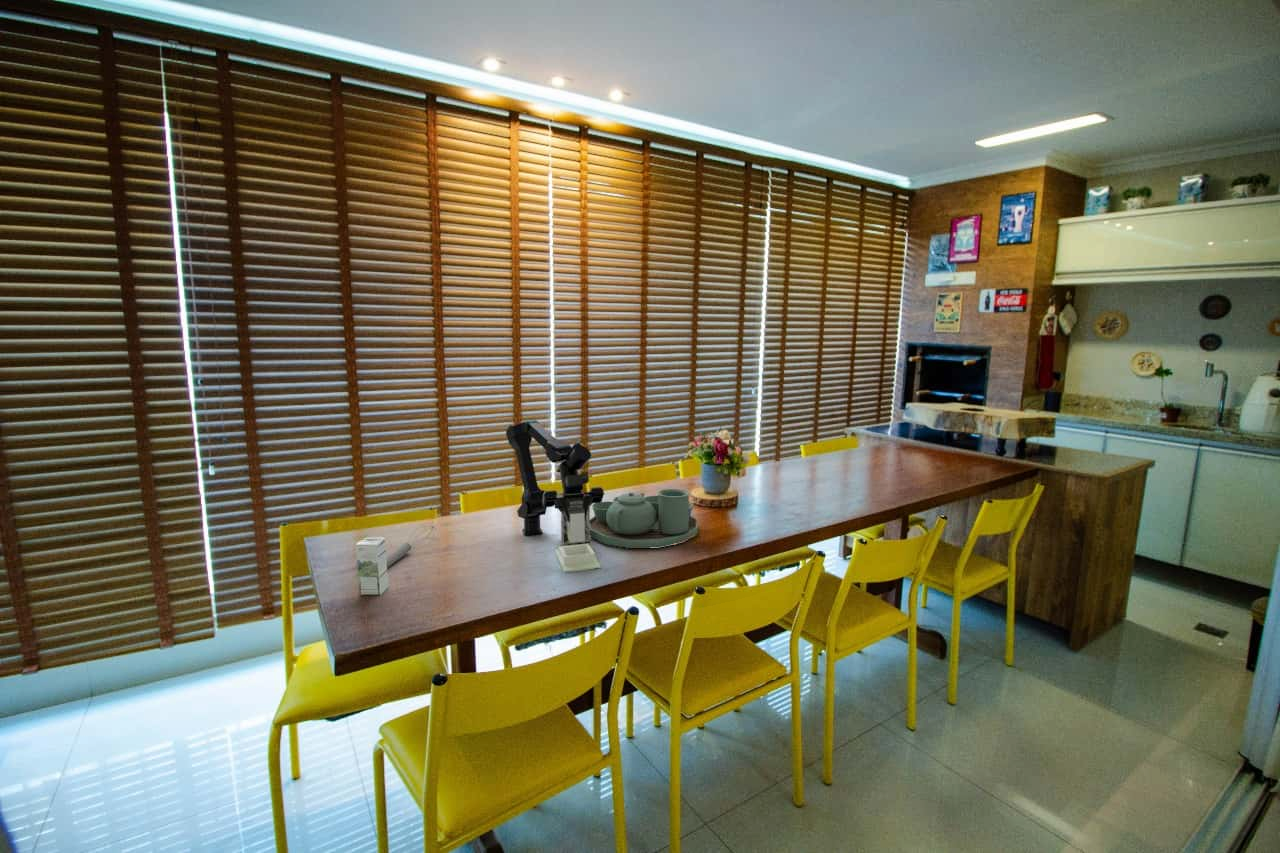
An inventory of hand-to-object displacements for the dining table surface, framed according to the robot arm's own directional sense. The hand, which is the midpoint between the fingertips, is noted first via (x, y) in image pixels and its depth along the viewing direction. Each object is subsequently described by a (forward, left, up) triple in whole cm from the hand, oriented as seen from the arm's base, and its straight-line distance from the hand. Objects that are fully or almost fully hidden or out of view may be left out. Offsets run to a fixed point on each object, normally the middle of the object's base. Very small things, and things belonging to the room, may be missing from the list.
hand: (577, 521), depth 173 cm
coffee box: (-19, +3, -13) cm, 24 cm away
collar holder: (-2, 0, -13) cm, 13 cm away
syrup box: (+4, -57, -13) cm, 59 cm away
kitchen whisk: (-25, -50, -14) cm, 58 cm away
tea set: (-23, +28, -14) cm, 39 cm away
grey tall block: (-2, 0, -7) cm, 7 cm away
